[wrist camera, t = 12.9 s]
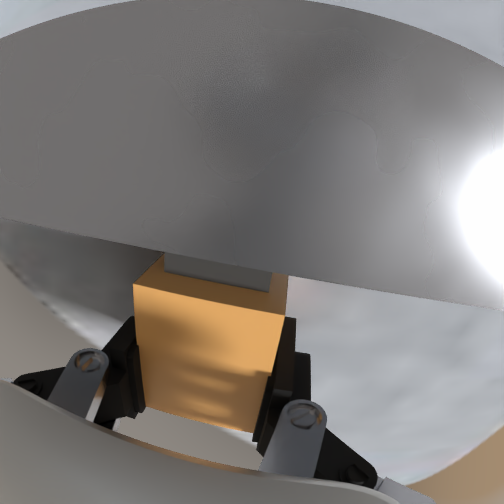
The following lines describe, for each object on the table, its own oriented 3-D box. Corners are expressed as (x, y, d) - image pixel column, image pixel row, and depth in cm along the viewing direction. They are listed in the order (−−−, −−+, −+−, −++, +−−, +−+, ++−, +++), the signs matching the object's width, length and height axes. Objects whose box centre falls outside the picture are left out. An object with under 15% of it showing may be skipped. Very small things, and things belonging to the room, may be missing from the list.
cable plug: (206, 33, 9) (160, -10, 5) (324, 44, 9) (337, -2, 5) (178, 342, 13) (144, 405, 10) (267, 361, 13) (255, 433, 9)
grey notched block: (69, 76, 10) (-56, 67, 4) (474, 129, 9) (604, 142, 3) (62, 167, 11) (-62, 203, 5) (452, 230, 10) (558, 318, 4)
